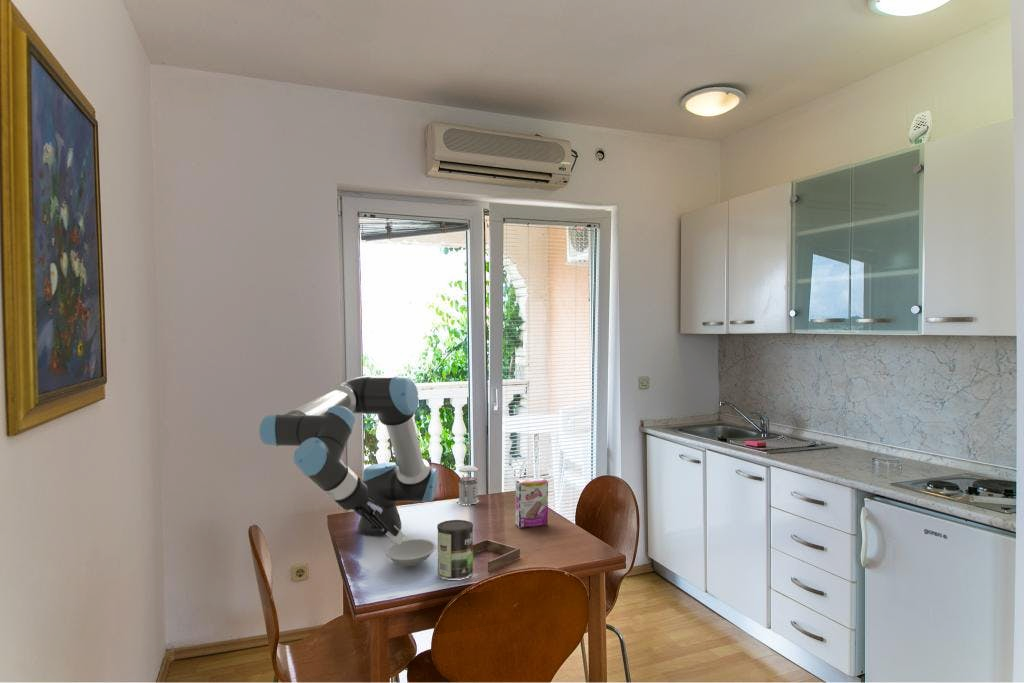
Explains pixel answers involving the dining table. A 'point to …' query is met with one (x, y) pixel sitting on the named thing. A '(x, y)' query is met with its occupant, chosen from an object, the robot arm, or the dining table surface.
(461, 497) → the french press
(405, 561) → the dish
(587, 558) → the dining table surface
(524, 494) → the candy bar box
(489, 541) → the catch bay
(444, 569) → the coffee can
